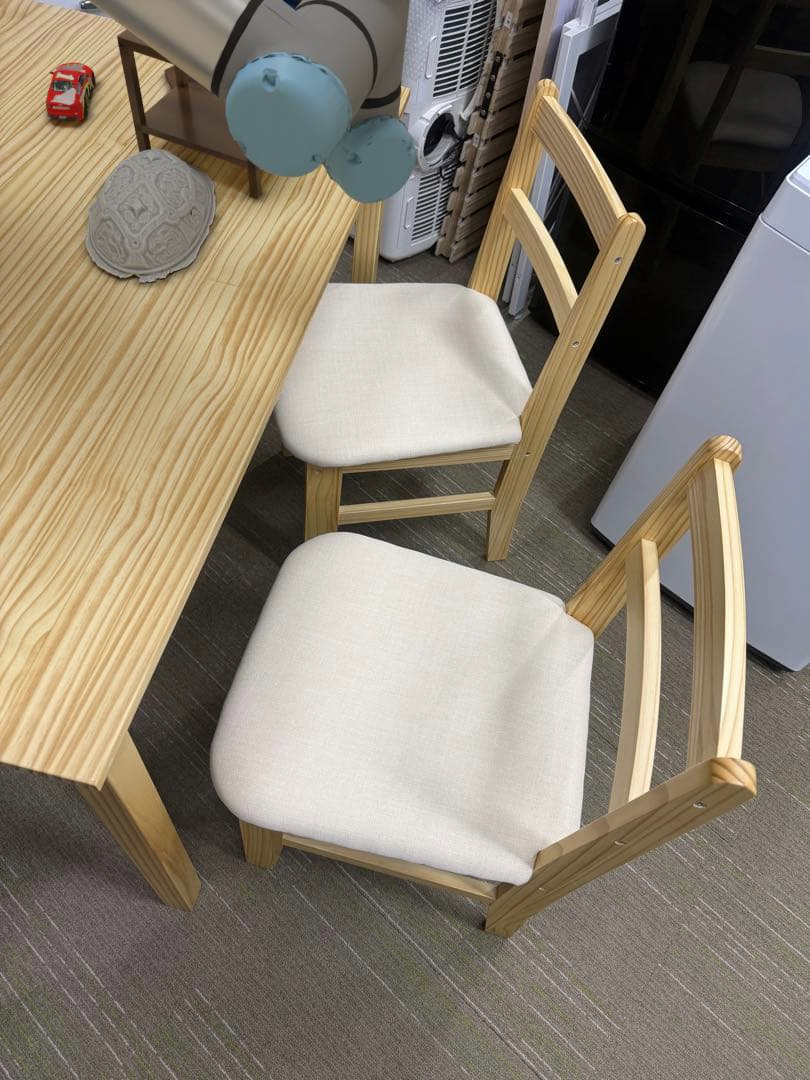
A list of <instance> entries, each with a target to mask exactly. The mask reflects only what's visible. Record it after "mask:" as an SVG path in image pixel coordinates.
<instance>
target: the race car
mask: <svg viewBox="0 0 810 1080" xmlns="http://www.w3.org/2000/svg"><path fill="white" fill-rule="evenodd" d="M49 74H50V75H52V76H51V81H50V85H49V88H48V91H47V94H46V98H45V108H46V112H47V117H48V118H49V119H50V120H53V121H56V122H57V121H60V122H61V121H62V122H74V123H75V122H80V121H82V120H84V119H85V118H86V117H88V109H89V108H90V107H89V106H90V103H91V99H92V95H93V92H94V89H95V87H96V77H95V71H94V70H93V69H92V68H91V67H90V66H88V65H86V64H84V63H81V62H66V63H62V64H60V65H58V66H57V67H56V68H55V70H54V71H51V70H50V71H49Z"/></svg>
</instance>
